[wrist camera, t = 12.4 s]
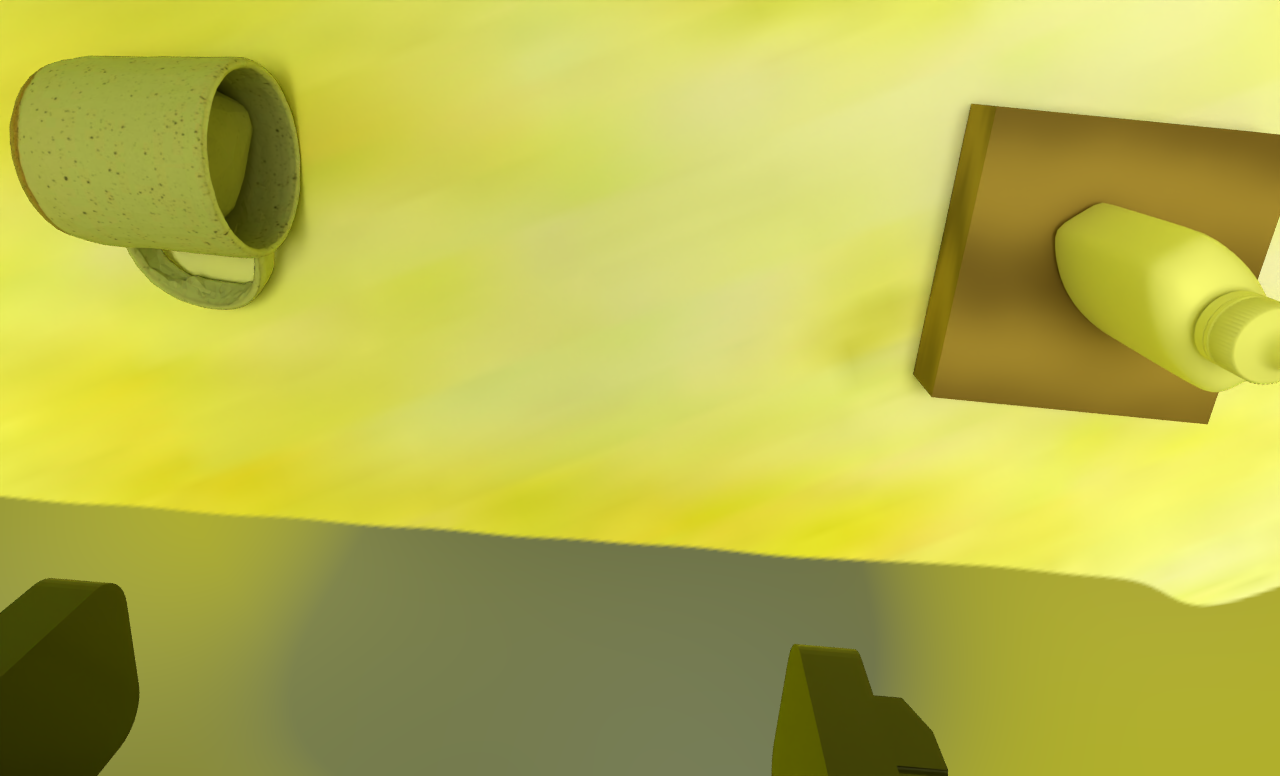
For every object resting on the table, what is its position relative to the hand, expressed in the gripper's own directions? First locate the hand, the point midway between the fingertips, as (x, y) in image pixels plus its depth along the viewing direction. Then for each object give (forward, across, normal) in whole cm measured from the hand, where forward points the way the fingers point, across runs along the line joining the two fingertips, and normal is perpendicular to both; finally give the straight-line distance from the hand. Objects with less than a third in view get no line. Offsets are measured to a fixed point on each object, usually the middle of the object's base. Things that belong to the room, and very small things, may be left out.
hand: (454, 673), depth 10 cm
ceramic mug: (+30, +17, -1) cm, 35 cm away
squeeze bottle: (+27, -20, -1) cm, 34 cm away
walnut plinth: (+30, -21, 0) cm, 36 cm away
